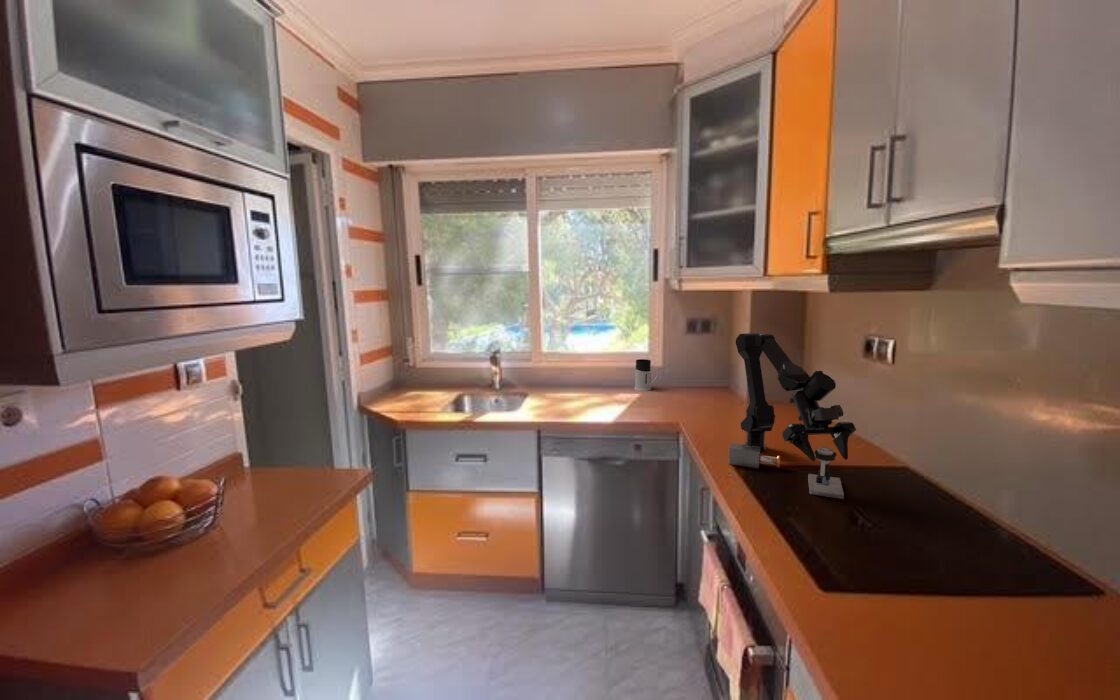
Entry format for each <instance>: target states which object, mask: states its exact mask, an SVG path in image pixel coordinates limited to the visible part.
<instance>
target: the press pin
mask: <svg viewBox="0 0 1120 700" xmlns="http://www.w3.org/2000/svg"><path fill="white" fill-rule="evenodd" d="M776 456H777V457H776ZM776 456H769V455H762V454H760V455H759V463H763V464H768V465H769V464H771V465H775V466H776V467H778V468H780V465H781V464H780V462H781V455H776Z"/></svg>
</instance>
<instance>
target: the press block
mask: <svg viewBox="0 0 1120 700" xmlns="http://www.w3.org/2000/svg"><path fill="white" fill-rule="evenodd" d="M759 455H761V451H760V447H758V446H750V445H745V444H741V443H740V444H739V443H731V444H730V447H729V462H728V464H729V465H732V466H738V467H746V468H752V469H753V468H755V469H759V468H760V462H759Z"/></svg>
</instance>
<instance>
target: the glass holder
mask: <svg viewBox="0 0 1120 700" xmlns="http://www.w3.org/2000/svg"><path fill="white" fill-rule="evenodd" d="M651 362H652V361H651V360H650V359H646V358H644V359H643V358H641V359H636V360H635V373H634V375H635V382H634V384H635V385H634V389H633V390H635V391H638V392H639V391H640V392H647V391H651V390H652V387H651V385H652V384H653V383H654V382H655V381H656V380H657V377H658V376H659V372H660V371H659V366H658V365H657V364H652V363H651ZM653 367H656V369H657V370H656V376H655V378H654V379H653V380H652V379H651V377H652V372H653ZM651 380H652V381H651Z"/></svg>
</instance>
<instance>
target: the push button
mask: <svg viewBox="0 0 1120 700" xmlns="http://www.w3.org/2000/svg"><path fill="white" fill-rule="evenodd" d="M813 452H814V455H815V459H816V460H817V461H820V467H819V470H817V471H818V473H817V475H818V476H817V478H816V483H821V484H829V485H831V479H830V477H832V476H831V475H832V472H831V471H830V467H829V466H830V462H833V461H835V460H836V457H837V456H838V453H836V452H834V449H833V448H830V447H825V446H822V447H821V446H820V447H818V449H815V450H814V451H813Z"/></svg>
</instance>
